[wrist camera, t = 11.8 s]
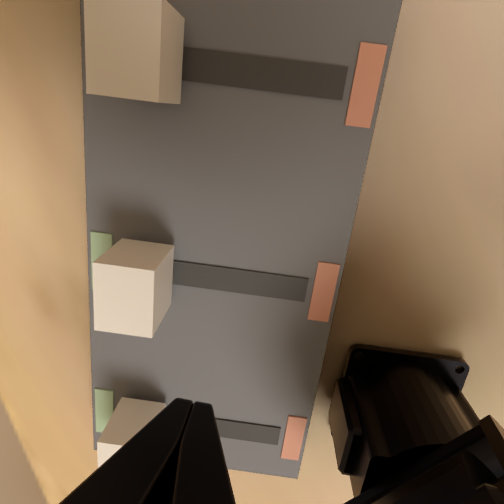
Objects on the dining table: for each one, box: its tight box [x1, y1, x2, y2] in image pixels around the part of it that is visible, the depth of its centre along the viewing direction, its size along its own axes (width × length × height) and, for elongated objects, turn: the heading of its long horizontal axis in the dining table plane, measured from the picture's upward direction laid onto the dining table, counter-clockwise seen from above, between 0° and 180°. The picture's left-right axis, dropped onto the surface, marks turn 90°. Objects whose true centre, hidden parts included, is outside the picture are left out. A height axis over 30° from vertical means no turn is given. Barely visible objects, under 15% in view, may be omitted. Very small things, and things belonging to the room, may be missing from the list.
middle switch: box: [92, 238, 174, 338], centre depth 17 cm, size 2×3×3 cm
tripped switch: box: [84, 0, 185, 104], centre depth 14 cm, size 2×3×3 cm
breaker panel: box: [80, 0, 402, 479], centre depth 19 cm, size 12×25×2 cm, turn 173°
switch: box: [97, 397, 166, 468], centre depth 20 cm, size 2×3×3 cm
